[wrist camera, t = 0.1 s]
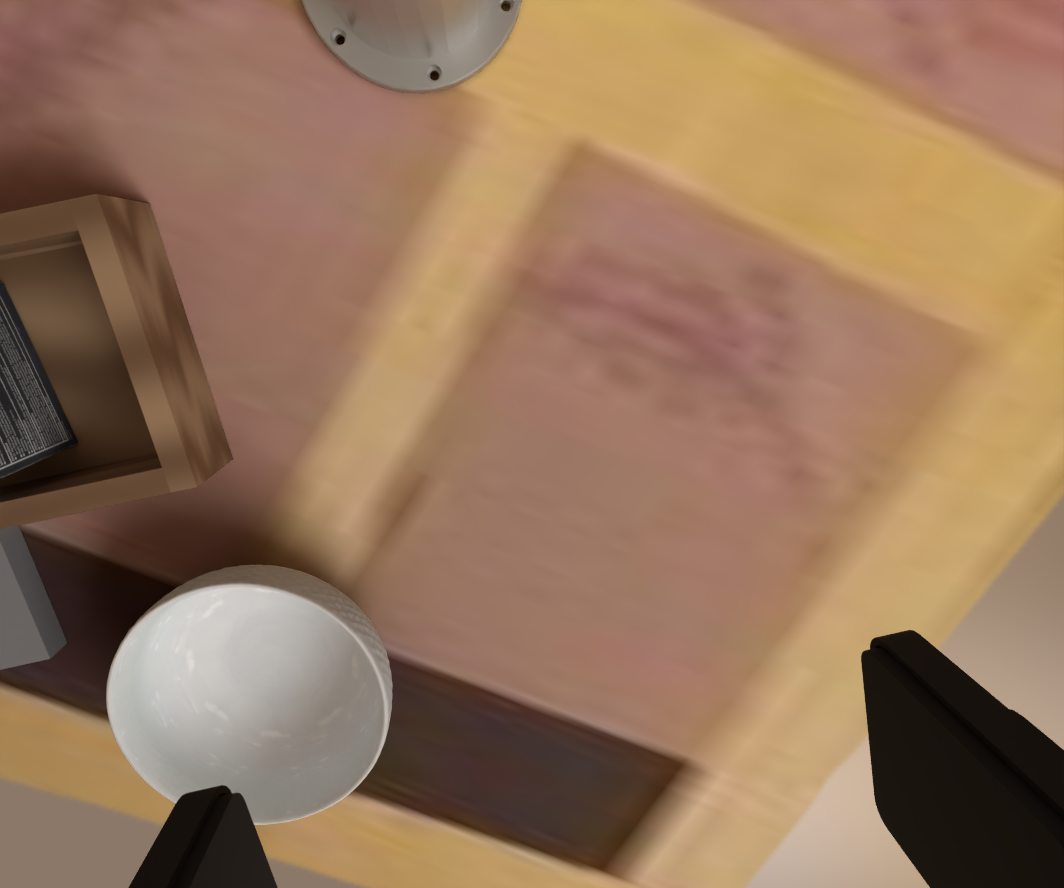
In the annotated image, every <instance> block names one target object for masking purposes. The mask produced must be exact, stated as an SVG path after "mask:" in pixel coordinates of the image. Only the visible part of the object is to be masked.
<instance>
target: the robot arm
mask: <svg viewBox="0 0 1064 888" xmlns="http://www.w3.org/2000/svg"><path fill="white" fill-rule="evenodd" d="M521 2H522V0H302V3H303V6H304V9H305V11H306V13H307V15H308V17H309V19H310V21H311V22H312V24H313V26H314V28H315V30H316V32H317V33H318V35H319V36H320V38H321V39H322V40H323V42H324V43H325V45H326V46H327V47H328V48H329V49H330V50H331V52H332V53H333V54H334V55H335V56H336V57H337V58H338V59H339V60H340V61H341V62H342V63H343V64H344V65H345V66H347V67H348V68H349V69H351V70H352V71H353V72H355V73H356V74H357V75H359V76H360V77H361V78H363V79H365V80H368V81H370V82H372V83H374V84H376V85H378V86H380V87H383V88H386V89H390V90H394V91H398V92H402V93H418V94H425V93H431V92H438V91H444V90H446V89H449V88H452V87H454V86H457V85H460V84H462V83H464V82H466V81H467V80H469V79H470V78H472V77H473V76H475V75H477V74H478V73H480V72H481V71H482V70H483V69H484V68H485V67H486V66H487V65H488V64H489V63H490V62H491V61H492V60H493V59H494V58H495V57H496V56H497V55H498V53H499V52H500V50H501V49H502V47H503V46H504V44H505V43H506V42H507V40H508V38H509V36H510V34H511V32H512V29H513V27H514V25H515V23H516V21H517V18H518V14H519V10H520V6H521ZM504 3H506V4H508V5H509V6H510V10H508V11H504V10H502V8H501V6H502V5H503V4H504ZM339 37H343V38H345V42H344V44H342V45H338V44H337V39H338V38H339ZM434 72H436V73H438V74H439V78H438V80H436V81H434V80H432V79H431V78H430V76H431V74H432V73H434ZM861 662H862V672H863V683H864V693H865V703H866V714H867V724H868V734H869V745H870V755H871V765H872V775H873V785H874V796H875V802H876V806H877V809H878V812H879V814H880V816H881V818H882V820H883V822H884V824H885V826H886V827H887V829H888V830H889V832H890V833H891V834H892V836H893V837H894V838H895V840H896V841H897V843H898V844H899V845H900V847H901V848H902V850H903V851H904V852H905V854H906V855H907V856H908V858H909V859H910V861H911V862H912V863H913V865H914V866H915V867H916V869H917V870H918V872H919V873H920V874H921V876H922V877H923V879H924V880H925V881H926V883H927V884H928V885H929V887H930V888H1064V750H1063V749H1062V748H1060V747H1059V746H1058V745H1057V744H1055V743H1054V742H1053V741H1052V740H1051V739H1050V738H1048V737H1047V736H1046V735H1045V734H1044V733H1042V732H1041V731H1040V730H1039V729H1037V728H1036V727H1035V726H1034V725H1033V724H1031V723H1030V722H1029V721H1028V720H1027V719H1025V718H1024V717H1023V716H1021V715H1020V714H1018V713H1017V712H1015V711H1014V710H1010V709H1008V708H1007V707H1005V706H1004V705H1003V704H1002V703H1001V702H1000V701H998V700H997V699H996V698H995V697H994V696H992V695H991V694H990V693H989V692H988V691H986V690H985V689H984V688H983V687H982V686H980V685H979V684H978V683H977V682H976V681H974V680H973V679H972V678H971V677H970V676H969V675H967V674H966V673H965V672H964V671H963V670H961V669H960V668H959V667H958V666H957V665H955V664H954V663H953V662H952V661H951V660H949V659H948V658H947V657H946V656H944V655H943V654H942V653H941V652H940V651H939V650H937V649H936V648H935V647H934V646H933V645H932V644H930V643H929V642H928V641H927V640H926V639H924V638H923V637H922V636H921V635H920V634H918V633H917V632H915V631H913V630H908V631H903V632H899V633H894V634H890V635H885V636H881V637H877V638H874V639H873V640H872V641H871V644H870V650H866V651H864V652H862V656H861ZM129 888H277V885H276V883H275V880H274V877H273V874H272V872H271V869H270V867H269V864H268V861H267V858H266V856H265V853H264V850H263V848H262V845H261V842H260V839H259V837H258V834H257V831H256V829H255V826H254V823H253V821H252V818H251V815H250V813H249V810H248V807H247V804H246V802H245V799H244V797H243V796H242V795H241V794H240V793H232V792H231V790H230V789H229V788H228V787H227V786H225V785H220V786H216V787H211V788H207V789H202V790H198V791H194V792H189V793H186V794H184V795H182V796H181V797H180V798H179V800H178V801H177V803H176V805H175V806H174V808H173V810H172V812H171V813H170V815H169V817H168V819H167V821H166V822H165V824H164V826H163V828H162V829H161V831H160V833H159V835H158V837H157V838H156V840H155V842H154V844H153V845H152V847H151V849H150V851H149V852H148V854H147V856H146V858H145V859H144V861H143V863H142V865H141V867H140V868H139V870H138V872H137V874H136V875H135V877H134V879H133V881H132V883H131V884H130V886H129Z"/></svg>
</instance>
